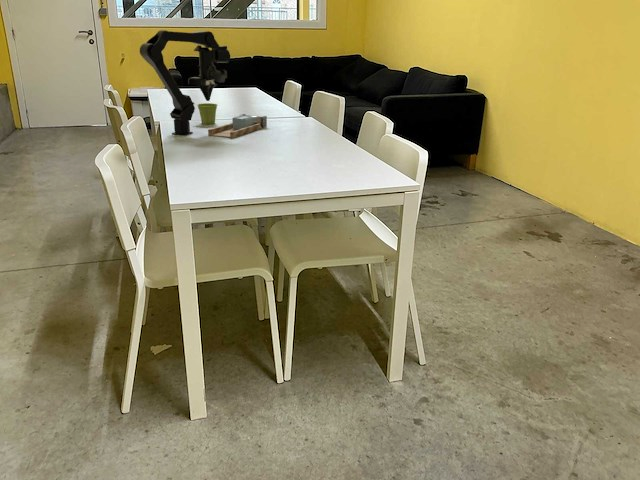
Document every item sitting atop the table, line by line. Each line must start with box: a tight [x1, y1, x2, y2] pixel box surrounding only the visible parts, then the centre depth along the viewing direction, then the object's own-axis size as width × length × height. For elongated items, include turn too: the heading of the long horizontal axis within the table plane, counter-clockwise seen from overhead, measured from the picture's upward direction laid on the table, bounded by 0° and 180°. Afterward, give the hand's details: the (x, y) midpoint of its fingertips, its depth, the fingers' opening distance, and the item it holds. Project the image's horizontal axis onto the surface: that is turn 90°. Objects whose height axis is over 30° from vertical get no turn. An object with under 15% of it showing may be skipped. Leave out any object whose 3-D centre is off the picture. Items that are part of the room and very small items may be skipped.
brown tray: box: [207, 121, 262, 139], centre depth 232 cm, size 24×12×3 cm, turn 157°
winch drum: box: [240, 113, 268, 129], centre depth 245 cm, size 4×12×5 cm, turn 67°
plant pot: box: [196, 102, 218, 125], centre depth 249 cm, size 9×9×9 cm
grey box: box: [231, 114, 254, 129], centre depth 237 cm, size 7×7×5 cm
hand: (207, 100), depth 229 cm, fingers closed
